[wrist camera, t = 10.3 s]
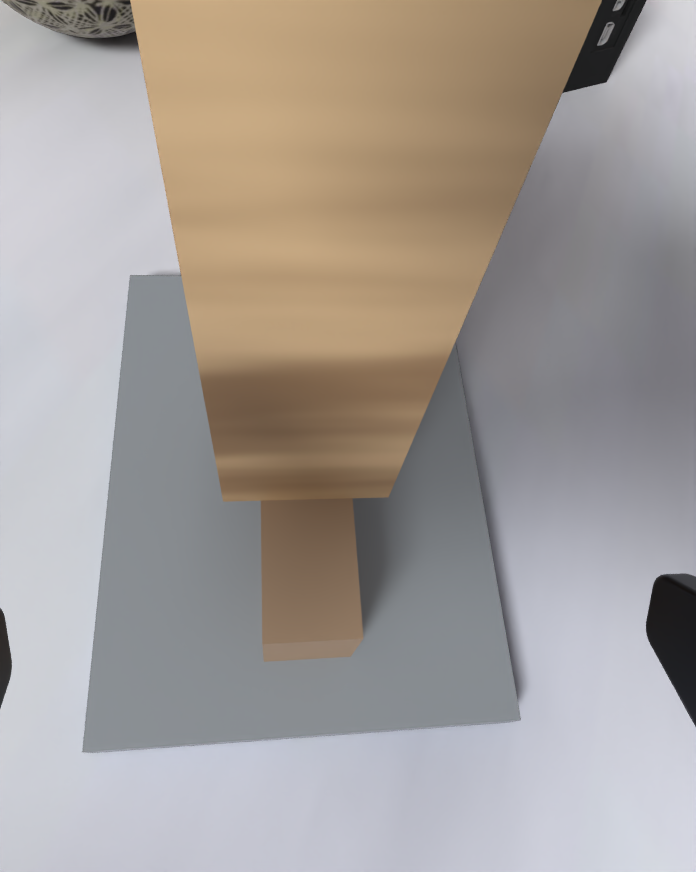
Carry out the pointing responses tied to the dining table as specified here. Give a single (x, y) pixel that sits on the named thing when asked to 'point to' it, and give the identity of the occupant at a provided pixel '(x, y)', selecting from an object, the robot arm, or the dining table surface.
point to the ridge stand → (283, 577)
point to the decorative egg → (79, 16)
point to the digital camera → (604, 42)
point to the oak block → (340, 209)
